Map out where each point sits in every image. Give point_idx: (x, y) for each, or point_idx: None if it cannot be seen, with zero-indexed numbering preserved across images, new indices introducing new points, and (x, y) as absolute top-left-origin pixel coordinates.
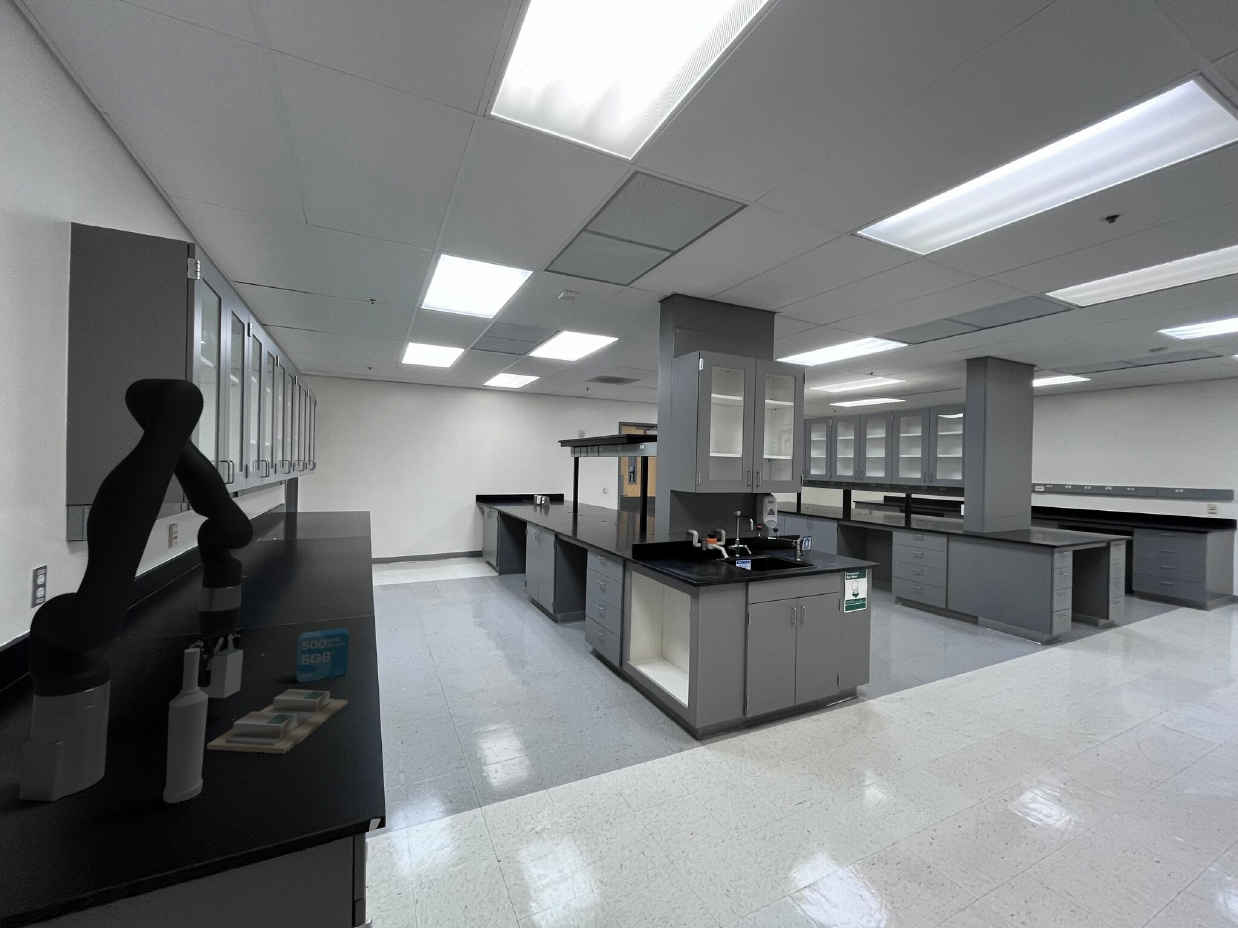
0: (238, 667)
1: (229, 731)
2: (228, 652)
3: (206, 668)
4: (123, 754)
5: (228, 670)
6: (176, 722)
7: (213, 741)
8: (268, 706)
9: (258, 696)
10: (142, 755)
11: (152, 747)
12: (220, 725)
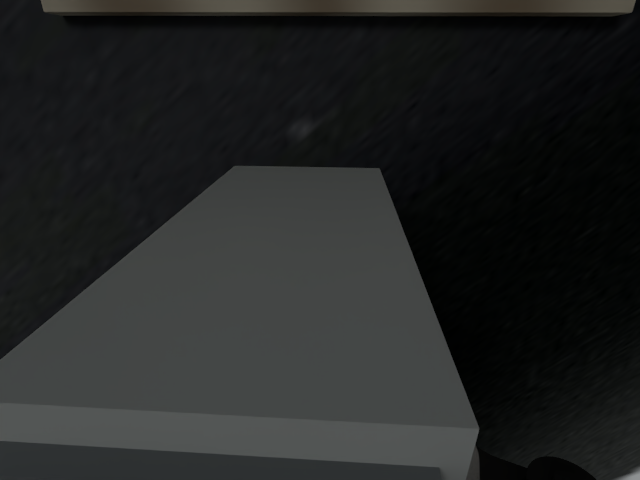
0: (205, 237)
1: (488, 3)
2: None
3: (477, 451)
4: (587, 311)
5: (374, 249)
6: None
7: (604, 1)
8: (180, 8)
9: (77, 189)
10: (609, 249)
11: (548, 261)
12: (368, 143)
